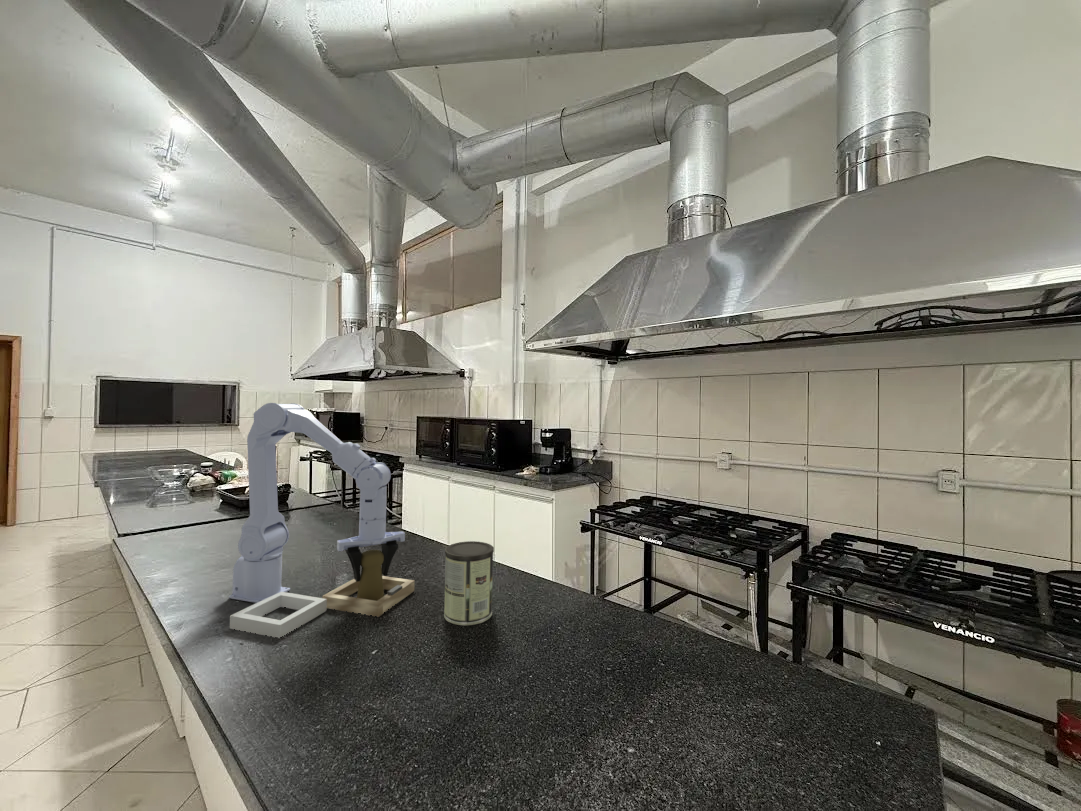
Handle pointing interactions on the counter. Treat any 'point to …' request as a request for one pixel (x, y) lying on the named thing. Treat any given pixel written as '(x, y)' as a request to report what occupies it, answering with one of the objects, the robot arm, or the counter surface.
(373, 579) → the cork
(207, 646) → the counter surface
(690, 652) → the counter surface
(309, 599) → the white picture frame
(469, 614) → the coffee can
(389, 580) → the wooden square frame
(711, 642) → the counter surface
